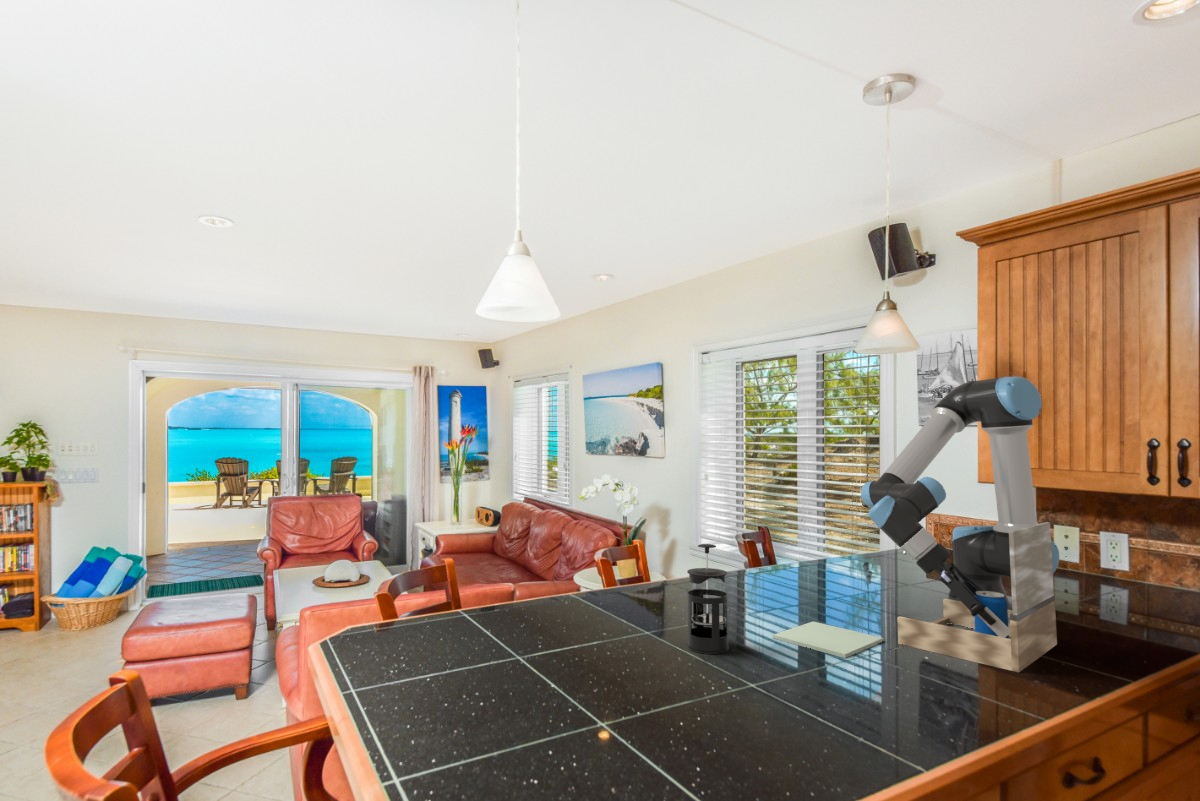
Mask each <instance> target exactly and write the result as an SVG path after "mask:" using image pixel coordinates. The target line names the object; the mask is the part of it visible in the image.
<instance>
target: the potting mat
mask: <svg viewBox="0 0 1200 801" xmlns="http://www.w3.org/2000/svg"><path fill="white" fill-rule="evenodd" d="M773 638H775V639H774V640H777V639H779V640H778V641H781V640H782V641H781V642H784V641H785V643H788V642H789V644H792V645H795V644H796V645H797V646H800V647H803V648H806V647H807V648H806V649H810V648H811V650H814V651H818V652H822V653H826V654H829V655H832V656H836V657H839V658H844V659H846V658H848V657H850V656H853V655H855V653H856V654H858V653H860V652H862V651H865V650H867V649H869V648H872V647H873V646H876V645H879V644H880V642H881V643H883V642H884V637H882V636H881V637H880V636H876V635H872V634H869V633H863V632H860V631H855V630H852V629H847V628H842V627H838V626H834V625H829V624H825V623H822V622H818V621H810V622H807V623H805V624H801V625H799V626H795V627H792V628H789V629H787V630H783V631H781V632H777V633H774V634H772V639H773ZM882 641H883V642H882ZM878 643H879V644H878ZM871 646H872V647H871ZM864 649H865V650H864Z"/></svg>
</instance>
